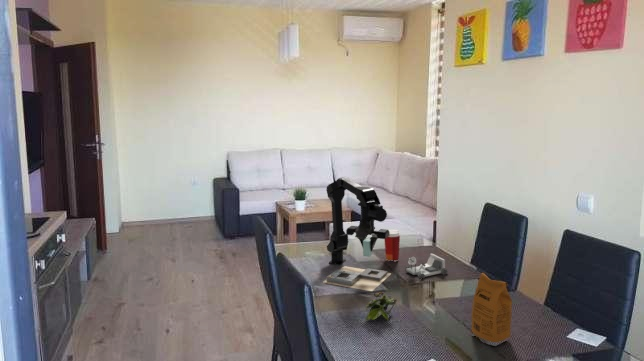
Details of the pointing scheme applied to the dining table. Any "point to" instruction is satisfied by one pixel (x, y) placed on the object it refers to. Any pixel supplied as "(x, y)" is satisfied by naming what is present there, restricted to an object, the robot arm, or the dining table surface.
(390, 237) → the coffee cup
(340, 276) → the port block
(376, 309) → the green leafy plant
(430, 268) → the toy car
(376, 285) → the patch board
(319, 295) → the dining table surface
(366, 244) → the plug
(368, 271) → the gray square frame
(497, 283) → the coffee package
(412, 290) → the dining table surface
